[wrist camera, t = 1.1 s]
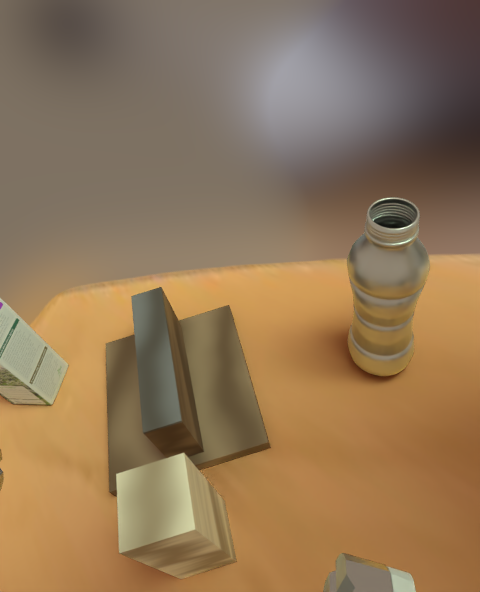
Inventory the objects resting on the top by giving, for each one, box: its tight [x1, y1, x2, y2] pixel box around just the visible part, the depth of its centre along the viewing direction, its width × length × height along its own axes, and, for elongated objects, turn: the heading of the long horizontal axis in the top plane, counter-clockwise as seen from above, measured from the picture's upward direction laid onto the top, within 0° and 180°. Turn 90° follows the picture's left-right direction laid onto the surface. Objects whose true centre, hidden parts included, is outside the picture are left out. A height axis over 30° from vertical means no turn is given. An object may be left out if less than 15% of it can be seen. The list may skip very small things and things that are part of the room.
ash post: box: [116, 453, 237, 579], centre depth 33 cm, size 5×5×13 cm
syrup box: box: [0, 298, 69, 405], centre depth 47 cm, size 6×6×14 cm
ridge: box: [106, 287, 271, 496], centre depth 44 cm, size 16×18×9 cm
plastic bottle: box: [347, 197, 430, 376], centre depth 38 cm, size 6×7×20 cm
